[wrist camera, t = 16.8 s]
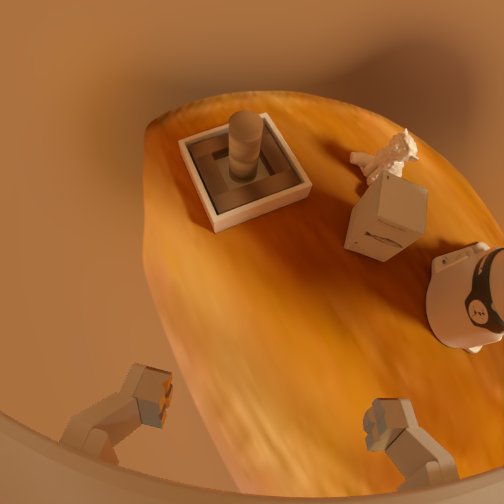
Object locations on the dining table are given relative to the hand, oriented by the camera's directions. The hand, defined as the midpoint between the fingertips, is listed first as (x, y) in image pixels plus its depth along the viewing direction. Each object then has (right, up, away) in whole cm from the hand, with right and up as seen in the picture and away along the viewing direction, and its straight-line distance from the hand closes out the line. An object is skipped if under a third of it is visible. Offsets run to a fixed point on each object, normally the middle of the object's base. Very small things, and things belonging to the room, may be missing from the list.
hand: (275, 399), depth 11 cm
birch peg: (-2, +18, +38) cm, 42 cm away
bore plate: (-2, +18, +38) cm, 42 cm away
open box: (-2, +18, +39) cm, 43 cm away
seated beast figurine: (+21, +19, +41) cm, 50 cm away
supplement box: (+18, +8, +37) cm, 42 cm away
